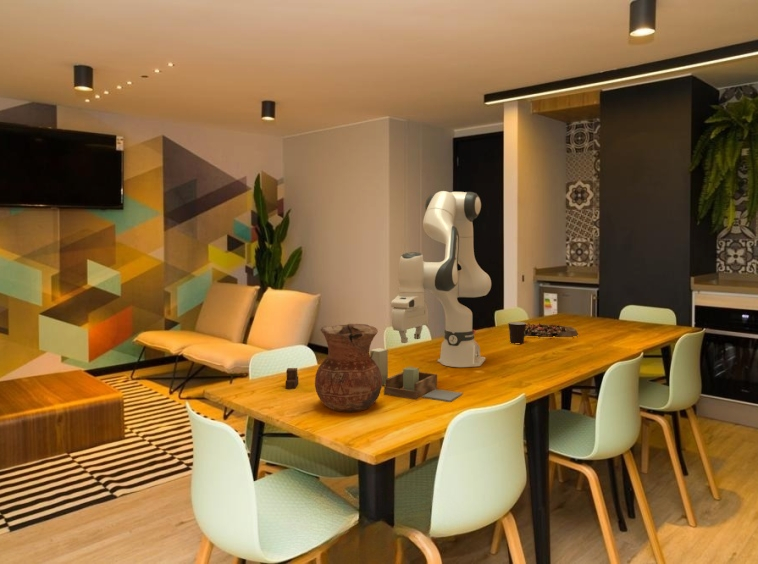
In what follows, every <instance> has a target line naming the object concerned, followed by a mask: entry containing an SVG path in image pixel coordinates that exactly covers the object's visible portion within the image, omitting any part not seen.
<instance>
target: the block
mask: <svg viewBox="0 0 758 564" xmlns="http://www.w3.org/2000/svg"><path fill="white" fill-rule="evenodd" d="M419 369H420V368H419V367H412V366H408V367H405V368H403V369H402V372H403V387H402V389H406V390H412V391H414V387H415V383H416V382H418V381H419V372H420V370H419Z"/></svg>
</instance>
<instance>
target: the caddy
mask: <svg viewBox="0 0 758 564" xmlns="http://www.w3.org/2000/svg"><path fill="white" fill-rule="evenodd" d="M435 389H438V374H437V373H436V374H435V373H430V372H429V373H428V372H422V371H419V381H418V382H416V383H415V387H414V391H412V390H406V389H403V371H402V372H400V373H397V374H394V375H392V376H390V377H388V378H387V379H386V385H384V389H383V394H384V395H386V396H392V397H398V398H405V399H411V400H418V399H420V398H422V397H423V395H425V394H427V393H429V392H431V391H433V390H435Z"/></svg>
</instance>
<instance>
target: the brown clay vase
mask: <svg viewBox="0 0 758 564" xmlns="http://www.w3.org/2000/svg"><path fill="white" fill-rule="evenodd" d="M320 331H321V333H322V334H323V336H324V339H325V340H326V345H327V349H328V350H327V351H328V352H327V353H328V354H327V356H326V358H325V359H324V360H323V361H322V362H321V363H320V364H319V366H318V368H317V370H316V372H315V378H314V387H315V392H316V395H317V396H318V398H319V400H320V402H321V403H322V404H323V405H325V406H326V407H327V408H328V409H330V410H334V411H337V412H348V413H349V412H351V413H352V412H353V413H354V412H361V411H364V410H368V409H369V408H370V407H371V406H372V405H373V404H375V402H376V401H377V400H378V398H379V396H380V394H381V390H382V387H383V386H382V376H381V372H380V370H379V367H378V366H377V364H376V363H375V361H374V360H373V359H372V358H371V357H370V350H371V344H372V343H373V341H374V338H375V337H376V335H378V328H377V327H374V326H372V325H368V324H367V323H366V324H365V323H348V324H336V325H333V326H330V325H329V326H327V325H324V326H323V327H321V328H320Z"/></svg>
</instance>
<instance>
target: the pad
mask: <svg viewBox="0 0 758 564" xmlns="http://www.w3.org/2000/svg"><path fill="white" fill-rule="evenodd" d="M463 395H464V394H463V392H457V391H450V390H445V389H439V388H437V389H435V390H433V391H431V392H429V393H427V394H425V395H423V396H422V398H423V399H428V400H436V401H441V402H447V403H452V402H453V401H455V400H456V399H459V397H460V398H461V396H463Z"/></svg>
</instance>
